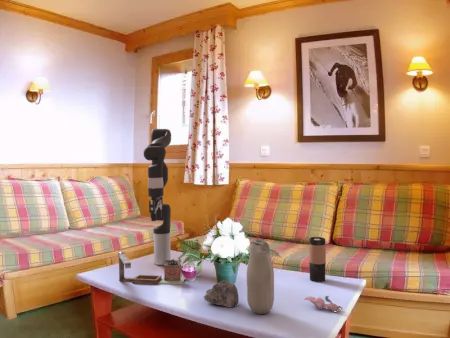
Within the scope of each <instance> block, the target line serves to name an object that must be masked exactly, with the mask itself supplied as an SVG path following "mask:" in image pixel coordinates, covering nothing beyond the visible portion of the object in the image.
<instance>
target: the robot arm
mask: <svg viewBox="0 0 450 338" xmlns="http://www.w3.org/2000/svg"><path fill="white" fill-rule="evenodd" d="M171 141H172V133H171V130H170V129H168V128H153V129H152V130H151V132H150V144H148V145H147V146H145V148H144V149H143V157H144V158H145V160H147V161H151V165H149V166H148V168H147V177H148V178H147V196H148V197H150V200H148V202H149V203H148V212H149V215H150V216H149V217H150V220H151V221H152V222H156V221H159V222H160V221H161V222H162V221H163V222H162V224H161V225H158V226H155V227H154V228H153V264H155V265H157V266H164V264H168V262H165V260H166V259H170V260H172V259H171V257H172V256H171V255H172V253H171V252H172V251H171V219H172V218H171V217H172V216H171V214H172V213H171V211H172V209H171V206H170V204H168V203H164V202H163V201H164V199H163V198H164V197H163V196H165V195H164V188H165V187H166V185H167V183H168V181H169V169H168V165H167V164H166V163H165V158H166V153H167V151H166V148H167V147H168V146H170V144H171Z"/></svg>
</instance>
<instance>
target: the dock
mask: <svg viewBox="0 0 450 338" xmlns="http://www.w3.org/2000/svg"><path fill="white" fill-rule="evenodd" d="M118 275H119V276H118V277H119V278H118V281H119V282H128V283H129V282H132V284H138V285H139V284H141V285H142V284H143V285H159V281H161V280H162V279H163V277H162V275H155V274H154V275H153V274H137V275H136V276H135V277H128V276H125V265H124V263H123V262H122V260H121V259H120V257H118Z"/></svg>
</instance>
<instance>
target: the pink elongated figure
mask: <svg viewBox="0 0 450 338" xmlns="http://www.w3.org/2000/svg"><path fill="white" fill-rule="evenodd" d="M303 300H304V301H309V302H310V303H312V304H314V306H315V307H316V308H318V309H320V310H322V309H326V310H330V309H331V310H332V311H331V310H330V311H331V312H333V311H337V310H338V311H339V313H341V312H342V311H341V310H344V309H343V306H341V305H337V304H336V303H335V302H332V300H331V299H330V296H329V295H326V296H325V297H324V298H321V297H314V296H306V297H305V298H303ZM325 301H326V302H327V303H325ZM321 308H322V309H321ZM338 311H337V312H338Z"/></svg>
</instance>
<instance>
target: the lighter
mask: <svg viewBox="0 0 450 338" xmlns="http://www.w3.org/2000/svg"><path fill="white" fill-rule="evenodd" d="M165 262H168V264H164V265H163V267H164V269H163V270H164V271H163V273H164V276H163V278H164V280H165V281H180V280H181V278H180V277H181V264H180V263H179V260H178V259H175V258H172V259H171V260H170V259H166V260H165Z"/></svg>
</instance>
